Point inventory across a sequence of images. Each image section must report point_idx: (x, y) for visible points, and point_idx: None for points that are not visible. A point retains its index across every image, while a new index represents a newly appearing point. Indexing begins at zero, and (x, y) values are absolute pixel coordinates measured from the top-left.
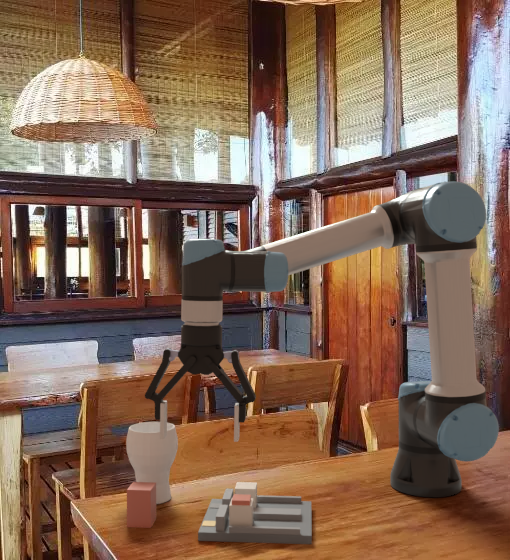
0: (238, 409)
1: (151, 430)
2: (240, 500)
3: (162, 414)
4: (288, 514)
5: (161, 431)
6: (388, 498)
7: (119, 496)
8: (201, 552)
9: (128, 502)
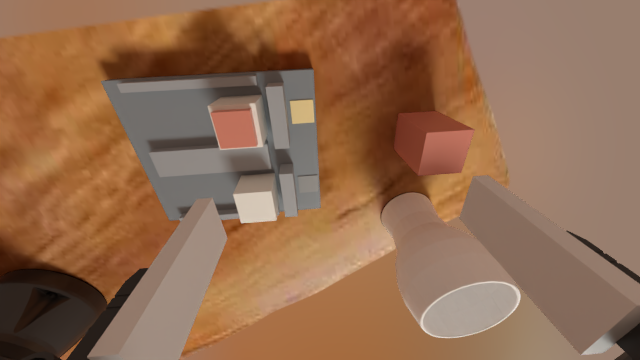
0: (107, 329)
1: (457, 317)
2: (230, 112)
3: (570, 244)
4: (170, 150)
5: (502, 191)
6: (83, 259)
7: (450, 213)
8: (295, 13)
9: (456, 122)
